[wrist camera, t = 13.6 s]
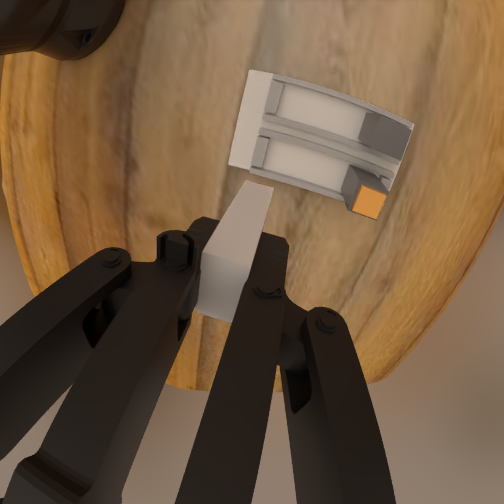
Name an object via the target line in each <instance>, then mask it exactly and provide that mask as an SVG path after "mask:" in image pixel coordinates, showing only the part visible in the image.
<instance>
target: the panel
mask: <svg viewBox="0 0 504 504" xmlns="http://www.w3.org/2000/svg"><path fill="white" fill-rule="evenodd" d="M413 128H414V124H413V123H412V122H410V121H408V120H406V119H404V118H402V117H399V116H397V115H395V114H393V113H391V112H389V111H386V110H384V109H382V108H379V107H377V106H375V105H372V104H370V103H367V102H365V101H362V100H360V99H357V98H355V97H352V96H349V95H346V94H344V93H341V92H338V91H335V90H332V89H329V88H326V87H323V86H319V85H316V84H313V83H309V82H306V81H302V80H299V79H295V78H291V77H287V76H283V75H279V74H274V73H273V74H271V73H266V72H262V71H256V70H251V69H250V70H249V74H248V78H247V82H246V86H245V90H244V94H243V99H242V103H241V107H240V111H239V116H238V120H237V125H236V129H235V134H234V139H233V143H232V148H231V153H230V157H229V162H228V165H232V166H236V167H240V168H244V169H247V170H249V173H252V174H255V175H259V176H263V177H266V178H270V179H273V180H277V181H280V182H283V183H287V184H290V185H293V186H297V187H300V188H303V189H306V190H310V191H313V192H316V193H319V194H322V195H325V196H328V197H331V198H334V199H337V200H340V201H343V202H345V201H344V198H343V195H342V192H341V187H342V184H343V181H344V179H345V176H346V173H347V170H348V167H349V165H353V166H356V167H358V168H361V169H364V170H366V171H369V172H371V173H374V174H375V175H376V176H377V177H378V178H379V180H380V181H381V182H382V183H383V185H384V186H385V187H386V188H387V190H388V191H390V189H391V187H392V184H393V182H394V179H395V177H396V174H397V172H398V169H399V167H400V164H401V161H402V159H403V156H404V153H405V151H406V148H407V145H408V142H409V139H410V136H411V134H412V131H413ZM388 194H389V193H388ZM386 199H387V198H386ZM385 201H386V200H385ZM382 208H383V207H382ZM381 210H382V209H381Z"/></svg>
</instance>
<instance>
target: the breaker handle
mask: <svg viewBox="0 0 504 504" xmlns="http://www.w3.org/2000/svg"><path fill="white" fill-rule="evenodd" d="M341 192H342V195H343V198H344V201H345V204H346V207H347V210H349V211H352V212H354V213H357V214H360V215H363V216H366V217H368V218H371V219H374V220H376V221H377V218H378V216H379V214H380V212H381V209H382V207H383V205H384V203H385V200H386V198H387V196H388V193H389V191H388V190H387V188H386V187H385V186H384V185H383V183H382V182H381V181H380V180H379V178H378V177H377V176H376V175H375V174H374V173H371V172H369V171H366V170H364V169H361V168H358V167H356V166H353V165H349V167H348V170H347V173H346V176H345V179H344V181H343V184H342V187H341Z"/></svg>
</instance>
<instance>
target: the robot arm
mask: <svg viewBox="0 0 504 504" xmlns="http://www.w3.org/2000/svg"><path fill="white" fill-rule="evenodd" d="M123 5H124V0H0V56H1V55H7V54H13V53H20V52H28V51H35V52H38V53H41V54H43V55H46V56H49V57H51V58H54V59H56V60H77V59H80V58H83V57H85V56H87V55H88V54H90V53H91V52H92V51H94V50H95V49H96V48H97V47H98V46H99V45H100V44H101V43H102V42H103V41H104V40H105V39H106V38H107V36H108V35H109V34H110V32H111V31H112V29H113V28H114V26H115V24H116V22H117V20H118V18H119V16H120V14H121V11H122V8H123ZM273 191H274V188H272V187H269V186H265V185H261V184H258V183H254V182H250V181H246V180H245V182H244V183H243V185H242V187H241V188H240V190H239V191H238V193H237V195H236V196H235V198H234V200H233V201H232V203H231V204H230V206H229V208H228V209H227V211H226V213H225V214H224V216H223V218H222V219H221V221H218V220H215V219H211V218H207V217H201V218H199V219H197V220H195V221H194V222H193V223H192V224H191V226H190V227H189V229H188V230H187V231H180V230H169V231H166V232H163V233H161V234H160V235H158V236H157V259H156V260H155V261H154V262H135V261H131V257H130V254H129V253H128V252H127V251H126V250H124V249H121V248H116V247H110V248H105V249H103V250H101V251H99V252H97V253H96V254H94V255H93V256H91V257H90V258H88V259H87V260H85V261H84V262H82V263H81V264H80V265H78V266H77V267H75V268H74V269H72V270H71V271H70V272H68V273H67V274H65V275H64V276H63V277H61V278H60V279H59V280H57V281H56V282H54V283H53V284H52V285H50V286H49V287H48V288H46V289H45V290H44V291H43V292H41V293H40V294H39V295H37V296H36V297H35V298H34V299H32V300H31V301H30V302H29V303H27V304H26V305H25V306H24V307H22V308H21V309H20V310H19V311H18V312H16V313H15V314H14V315H13V316H11V317H10V318H9V319H8V320H7V321H6V322H5V323H3V324H2V325H1V326H0V460H2V459H3V458H4V457H5V456H6V455H7V454H8V453H9V452H10V451H11V450H12V449H13V448H14V447H15V446H16V445H17V443H18V442H19V441H20V440H21V439H22V438H23V437H24V435H25V434H26V433H27V432H28V431H29V430H30V429H31V428H32V427H33V426H34V424H35V423H36V422H37V421H38V420H39V419H40V418H41V417H42V416H43V414H45V412H46V411H47V410H48V409H49V408H50V407H51V406H52V405H53V404H54V403H55V402H56V401H57V400H58V399H59V397H60V396H61V395H62V394H63V393H64V392H65V391H66V390H67V389H68V388H69V387H70V386H71V385H72V384H73V385H72V387H71V389H70V390H69V392H68V394H67V396H66V398H65V399H64V401H63V403H62V405H61V407H60V409H59V411H58V413H57V414H56V416H55V418H54V420H53V422H52V424H51V426H50V428H49V430H48V432H47V434H46V436H45V438H44V440H43V442H42V445H41V447H40V448H39V450H38V451H37V453H35V454H34V455H32V456H29V457H27V458H24V459H23V460H22V461H21V462H20V463H19V464H18V465H17V467H16V469H15V471H14V473H13V475H12V478H11V481H10V483H9V486H8V488H7V491H6V494H5V497H4V498H0V504H121V503H122V497H121V495H122V491H123V488H124V485H125V482H126V479H127V477H128V474H129V471H130V469H131V466H132V463H133V461H134V458H135V456H136V453H137V451H138V448H139V446H140V443H141V440H142V438H143V435H144V433H145V430H146V428H147V425H148V423H149V420H150V418H151V415H152V413H153V410H154V408H155V406H156V403H157V401H158V398H159V396H160V393H161V391H162V388H163V386H164V384H165V382H166V379H167V377H168V374H169V372H170V370H171V367H172V365H173V363H174V360H175V358H176V356H177V353H178V351H179V349H180V346H181V344H182V342H183V340H184V337H185V335H186V333H187V330H188V328H189V326H190V324H191V318H192V312H193V310H194V307H195V305H196V310H195V312H197V313H200V314H203V315H206V316H210V317H213V318H216V319H219V320H223V321H226V322H230V323H232V324H231V327H230V331H229V334H228V337H227V340H226V343H225V346H224V350H223V353H222V356H221V359H220V362H219V365H218V369H217V372H216V375H215V378H214V381H213V384H212V388H211V391H210V394H209V397H208V401H207V403H206V407H205V410H204V413H203V416H202V419H201V422H200V426H199V429H198V432H197V435H196V438H195V441H194V444H193V448H192V451H191V454H190V457H189V460H188V463H187V467H186V470H185V473H184V476H183V479H182V482H181V485H180V488H179V492H178V495H177V498H176V501H175V504H251V502H252V497H253V492H254V488H255V484H256V479H257V474H258V469H259V464H260V459H261V454H262V449H263V444H264V439H265V433H266V428H267V422H268V416H269V411H270V404H271V399H272V393H273V387H274V381H275V374H276V368H277V365H279V366H280V373H281V381H282V388H283V395H284V402H285V411H286V418H287V426H288V433H289V441H290V449H291V458H292V464H293V474H294V482H295V491H296V499H297V504H396V501H395V496H394V490H393V485H392V480H391V476H390V471H389V466H388V463H387V458H386V454H385V449H384V446H383V441H382V437H381V434H380V430H379V426H378V423H377V419H376V415H375V412H374V408H373V405H372V401H371V398H370V395H369V391H368V388H367V384H366V381H365V378H364V375H363V372H362V368H361V365H360V362H359V359H358V356H357V353H356V350H355V347H354V344H353V341H352V338H351V336H350V333H349V330H348V327H347V324H346V322H345V321H344V319H343V317H342V316H341V315H339V314H338V313H337V312H336V311H334V310H332V309H330V308H326V307H315V308H313V309H311V310H310V311H309V312H308V311H306V310H304V309H302V308H301V307H299V306H297V305H296V304H294V303H293V302H292V301H291V300H290V299H289V298H288V296H287V295H286V290H285V289H284V284H285V276H286V268H287V260H288V252H289V245H288V243H287V241H286V239H285V238H282V237H279V236H275V235H272V234H268V233H265V232H262V231H263V228H264V224H265V221H266V217H267V213H268V210H269V206H270V202H271V199H272V195H273ZM100 302H101V303H100Z"/></svg>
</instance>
